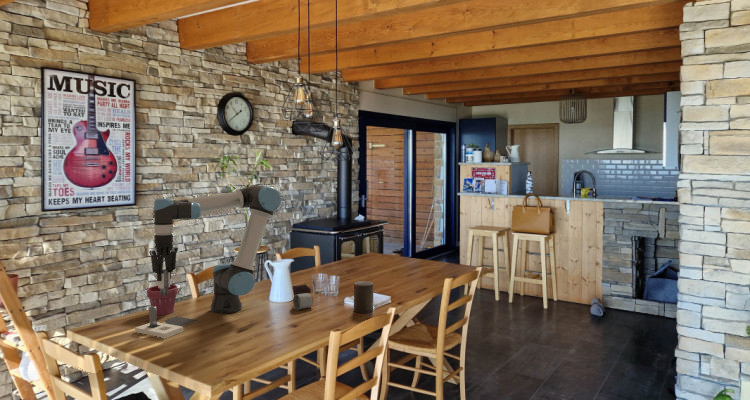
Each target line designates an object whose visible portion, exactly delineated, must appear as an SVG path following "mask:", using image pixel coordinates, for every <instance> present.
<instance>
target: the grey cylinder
mask: <svg viewBox="0 0 750 400" xmlns="http://www.w3.org/2000/svg"><path fill="white" fill-rule="evenodd" d="M292 303H293V304H292V305H293V307H294V308H295V310H297V311H299V310H304V309H308V308H312V306H313V305H314V297H313V295H312V294H311V293H309V292H308V293H307V292H306V293H298V294H294V296H293V299H292Z"/></svg>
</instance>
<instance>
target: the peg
mask: <svg viewBox="0 0 750 400" xmlns="http://www.w3.org/2000/svg"><path fill="white" fill-rule="evenodd" d="M162 273H163V274H164V289H161V288H160V295H161V296H165V295H168V270H167V269H166V268H165V269H163V270H162Z"/></svg>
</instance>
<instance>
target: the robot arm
mask: <svg viewBox="0 0 750 400" xmlns="http://www.w3.org/2000/svg"><path fill="white" fill-rule="evenodd" d="M153 203H154V204H153V219H154V222H153V223H154V224H153V226H154V228H153V229H154V232H153V233H154V238H153V239H154V249H152V250H149V256H150V260H151V268H152V273H155V274H156V281H157V282H158V288H161V289H164V274H163V273H162V270H163V267H165V269H167V270H168V287H170V284H171V279H172V273H174V271H175V269H176V262H177V252H178V250H179V248H178V247H176V246H175V247H174V245H173V242H174V235H173V233H174V221H175V220H194V219H195V220H196V219H199V218H200V216H201V213H203V214H204V213H209V212H214V211H219V210H227V209H233V208H238V209H245V208H247V209H248V208H249V209H248V210H249V212H250V215H249V218H248V221H247V224H246V227H245V231H244V233H243V237H242V239H241V242H240V244H239V248H238V252H237V255H236V257H235V260H234V261H232V262H229V263H222V264H221V263H220V264H215V265H214V266H213V268H212V278H213V279H212V280H213V282H212V283H213V297H212V300H211V305H210V312H212V313H214V314H231V313H232V314H233V313H236V312H237V313H238V312H239V311H242V309H243V304H242V302H241V299H240V296H245V295H247V294H249V293H250V292H251V291H252V290H253V288H254V286H255V277H254V273H255V268H254V262H255V259H256V257H257V253H258V250H259V248H260V244H261V241H262V238H263V236H264V231H265V229H266V227H267V223H268V220H269V219H271V218H272V217H273V215H274V211H276V210H277V209H279V208H280V206H281V204H282V196H281V194H280V191H278V189H276V188H275V187H272V186H269V185H252V186H247V187H243V188H238V189H236V190H235V191H232V192H224V193H219V194H212V195H206V196H205V195H204V196H199V197H191V198H185V199H179V200H176V199H175V200H173V198H164V197H163V198H156V199H154V202H153ZM164 265H165V266H164Z"/></svg>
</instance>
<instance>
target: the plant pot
mask: <svg viewBox="0 0 750 400" xmlns="http://www.w3.org/2000/svg"><path fill="white" fill-rule="evenodd" d="M178 290H179V289H178V285H177V284H172V283H170V287H168V295H165V296H161V295H160V288H158V285H153V286H150V287H148V288H146V297H147V298H148V299H149V303H150V307H151V306H156V309H157V316H166V315H170V314H173V313H174V310H175V305H176V298H177V296H178V294H179V291H178Z"/></svg>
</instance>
